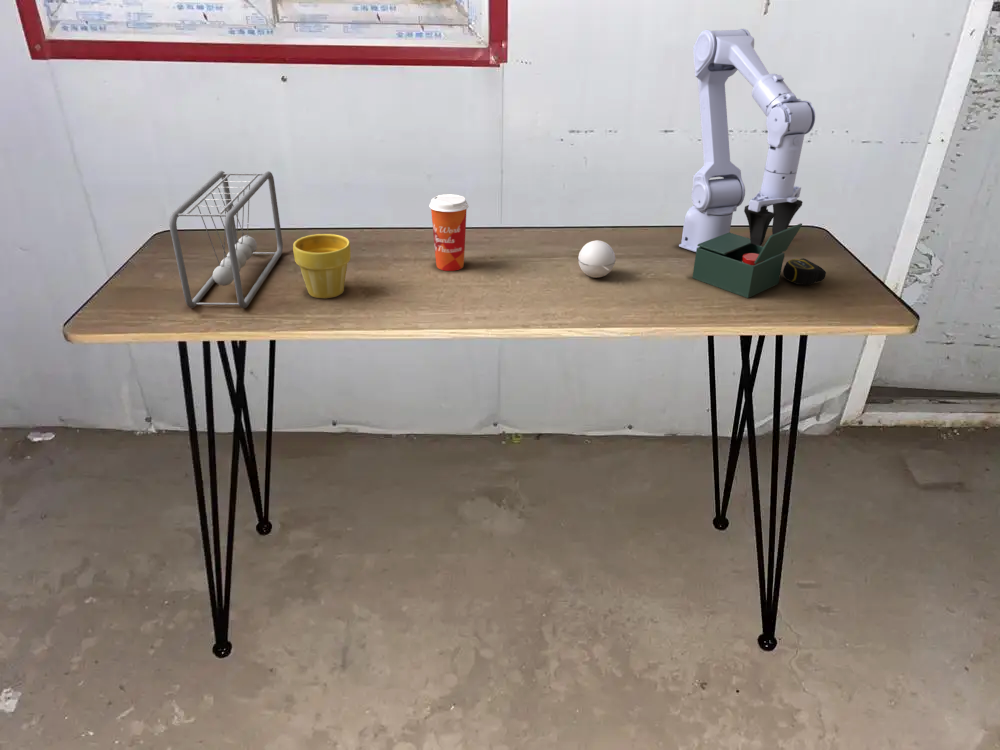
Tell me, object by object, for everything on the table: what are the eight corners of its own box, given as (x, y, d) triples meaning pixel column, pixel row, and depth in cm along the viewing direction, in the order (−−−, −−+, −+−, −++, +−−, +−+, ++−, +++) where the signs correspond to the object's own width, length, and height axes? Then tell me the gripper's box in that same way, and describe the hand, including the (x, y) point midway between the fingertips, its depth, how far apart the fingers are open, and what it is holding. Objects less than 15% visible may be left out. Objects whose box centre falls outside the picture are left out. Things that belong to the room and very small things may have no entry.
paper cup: (424, 269, 157) (422, 202, 150) (441, 256, 163) (439, 191, 156) (459, 275, 154) (458, 207, 147) (475, 262, 161) (475, 196, 154)
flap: (784, 249, 149) (786, 250, 149) (753, 262, 143) (755, 263, 143) (801, 223, 145) (802, 224, 145) (770, 235, 139) (771, 236, 139)
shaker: (751, 289, 149) (757, 262, 146) (733, 283, 152) (738, 256, 149) (763, 284, 151) (768, 257, 149) (745, 277, 154) (750, 251, 151)
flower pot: (363, 285, 150) (359, 236, 145) (337, 306, 141) (332, 255, 136) (317, 277, 153) (311, 230, 148) (288, 298, 144) (281, 248, 139)
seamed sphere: (573, 269, 158) (576, 235, 154) (609, 269, 158) (612, 234, 155) (582, 289, 149) (584, 253, 146) (620, 288, 150) (623, 252, 146)
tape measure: (825, 286, 152) (829, 268, 150) (795, 289, 150) (799, 272, 148) (803, 273, 158) (807, 255, 156) (774, 276, 156) (778, 259, 154)
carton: (778, 283, 153) (785, 249, 149) (747, 298, 147) (754, 262, 143) (723, 264, 161) (728, 232, 157) (692, 278, 155) (697, 244, 151)
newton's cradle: (244, 312, 139) (228, 216, 130) (186, 312, 138) (166, 216, 130) (284, 251, 165) (273, 168, 156) (235, 251, 164) (220, 167, 156)
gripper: (778, 181, 136) (764, 254, 143) (820, 167, 145) (805, 237, 152) (744, 173, 141) (732, 243, 148) (787, 160, 149) (773, 227, 156)
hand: (767, 239), depth 150 cm, fingers open, 7 cm apart
